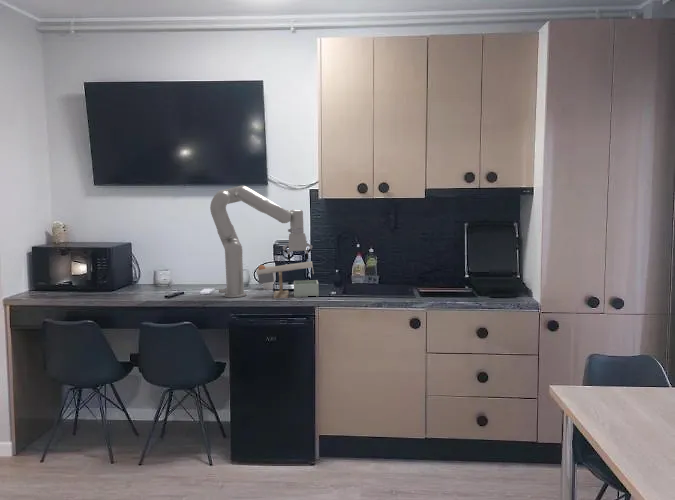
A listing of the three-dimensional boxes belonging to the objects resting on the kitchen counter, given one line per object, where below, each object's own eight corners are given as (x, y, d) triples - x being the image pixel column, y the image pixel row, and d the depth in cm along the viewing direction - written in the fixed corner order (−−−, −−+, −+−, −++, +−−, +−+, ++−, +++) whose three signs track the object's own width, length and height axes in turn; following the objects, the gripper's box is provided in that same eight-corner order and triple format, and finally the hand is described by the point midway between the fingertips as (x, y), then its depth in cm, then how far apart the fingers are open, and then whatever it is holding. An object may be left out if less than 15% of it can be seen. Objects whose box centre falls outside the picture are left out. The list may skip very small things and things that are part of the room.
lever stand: (273, 298, 332) (272, 272, 331) (274, 293, 346) (273, 268, 345) (288, 297, 333) (287, 271, 331) (288, 293, 347) (287, 268, 345)
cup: (294, 297, 333) (293, 284, 333) (294, 293, 347) (293, 280, 346) (318, 296, 334) (318, 283, 334) (317, 292, 348) (317, 280, 347)
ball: (260, 273, 336) (256, 267, 335) (261, 272, 339) (257, 266, 339) (266, 270, 336) (262, 264, 335) (267, 269, 340) (263, 263, 339)
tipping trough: (258, 283, 335) (256, 270, 334) (259, 279, 351) (258, 266, 350) (314, 276, 337) (312, 262, 336) (313, 271, 353) (311, 259, 352)
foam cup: (257, 289, 362) (256, 267, 361) (266, 287, 370) (265, 265, 369) (271, 290, 358) (270, 268, 356) (279, 287, 366) (278, 266, 364)
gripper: (281, 232, 342) (282, 262, 344) (312, 231, 343) (313, 261, 345) (282, 231, 350) (283, 260, 351) (311, 230, 351) (312, 259, 353)
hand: (298, 260), depth 348 cm, fingers open, 9 cm apart
